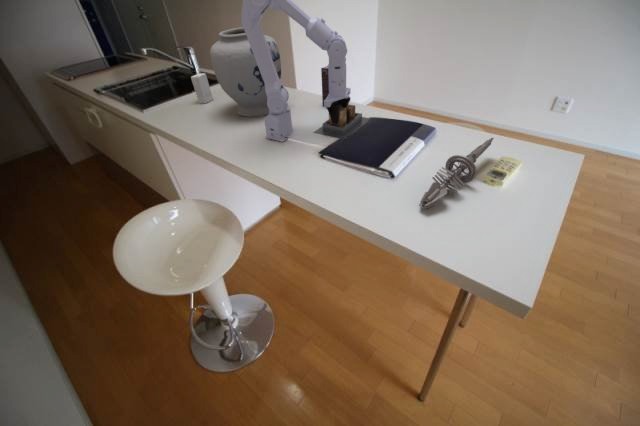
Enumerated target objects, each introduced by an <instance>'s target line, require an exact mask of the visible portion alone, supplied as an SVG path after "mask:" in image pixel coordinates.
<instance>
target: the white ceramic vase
mask: <svg viewBox="0 0 640 426" xmlns="http://www.w3.org/2000/svg"><path fill="white" fill-rule="evenodd" d="M218 36H219V37H220V39H219V40H218V41H216V42H215V43H214V44H212V46H210V47H211V48H210V50H209V51H210V53H209V54H210V55H209V56H210V62H211V65H212V66H211V67H212V69H213V73H214V75H215V77H216V79H217V80H216V81H217V83H218V84H219V85H220V88H221V89H222V90H223V91H224V93H225V94H226V95H227V96H228V97H229V98H230V99H232V101H234V102H235V103H237V105H238V107H237V109H236V113H237V114H238V115H239V116H242V117H248V118H249V117H250V118H253V117H262V116H266V115H267V116H268V114H269V108H268V106H267V95H266V92H265V83H264V81H263V78H262V75H261V73H260V70H259V68H258V65H257V62H256V60H255V57H254V54H253V52H252V49H251V46H250V44H249V41H248V38H247V36H246V33H245V30H244V28H243V26H241V27H235V28H230V29H227V30H222V31H220V32H219V33H218ZM264 36H265V39H266V42H267V45H268V48H269V51H270V54H271V57H272V60H273V63H274V66H275V68H276V71H277V74H278V77H279V79H280V80H281V78H282V63H281V55H280V50H279V45H278V43H277V41H276V40H275V38H273V37H272V36H269V35H265V34H264ZM281 81H282V80H281Z"/></svg>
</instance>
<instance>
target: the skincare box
mask: <svg viewBox="0 0 640 426" xmlns="http://www.w3.org/2000/svg"><path fill="white" fill-rule="evenodd" d="M190 78H191V79H190V80H191V83H192V85H193V88H194V91H195V95H196V98H197V101H198V103H199V104H202V103H206V104H208V103H210V102H211V101H213V100H214V98H213V94H212V90H211V87H210V83H209V80H208V77H207V74H206V73H196V74H195V75H191V76H190ZM209 101H210V102H209ZM207 102H208V103H207Z"/></svg>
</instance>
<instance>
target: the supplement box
mask: <svg viewBox="0 0 640 426" xmlns="http://www.w3.org/2000/svg"><path fill="white" fill-rule="evenodd" d="M320 70H321V71H320V72H321V73H320V74H321V94H322V95H321V97H322V99H321V100H322V107H324V100H325V99H326V98H327V96H328V95H329V76H328V65H326V66H323V67H321V68H320Z"/></svg>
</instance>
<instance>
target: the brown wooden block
mask: <svg viewBox="0 0 640 426" xmlns="http://www.w3.org/2000/svg"><path fill="white" fill-rule="evenodd" d="M355 113H356V105H355V104H350V103H349V104H348V106H347V109H346V119H351V120H352V119H353V118H354V117H355Z"/></svg>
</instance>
